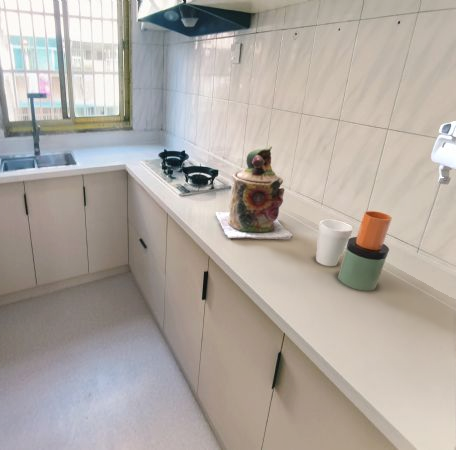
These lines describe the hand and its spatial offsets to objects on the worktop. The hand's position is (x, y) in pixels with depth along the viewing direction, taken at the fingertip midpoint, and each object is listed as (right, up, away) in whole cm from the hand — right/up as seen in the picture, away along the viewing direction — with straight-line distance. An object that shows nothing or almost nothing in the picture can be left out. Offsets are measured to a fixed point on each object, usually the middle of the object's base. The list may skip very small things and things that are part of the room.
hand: (455, 189), depth 82 cm
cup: (-13, -14, +13) cm, 23 cm away
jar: (-13, -25, +18) cm, 34 cm away
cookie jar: (-35, -10, +52) cm, 64 cm away
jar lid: (-13, -15, +14) cm, 24 cm away
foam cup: (-17, -21, +29) cm, 39 cm away
